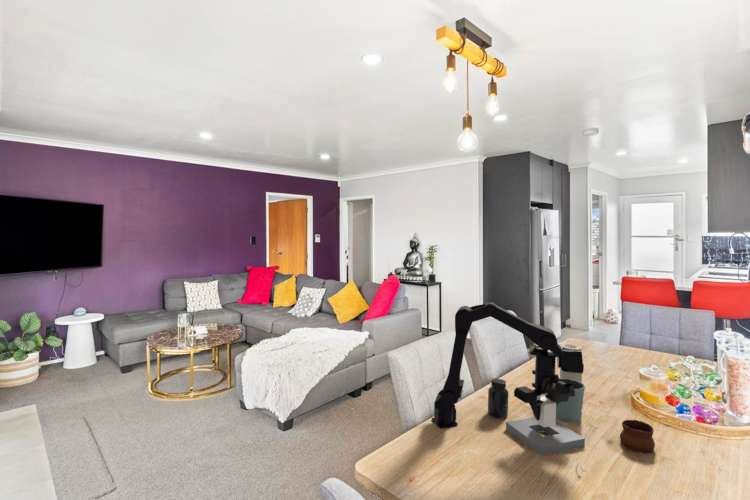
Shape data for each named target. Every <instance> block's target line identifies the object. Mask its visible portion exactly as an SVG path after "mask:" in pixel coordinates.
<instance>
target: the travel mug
mask: <svg viewBox="0 0 750 500" xmlns="http://www.w3.org/2000/svg"><path fill="white" fill-rule="evenodd" d="M561 348H562V349H566V350H581V351H582V350H583V347H582V346H580V345H578V344H573V343H563V344H562V345H561ZM559 369H560V370H559V378H567V379H573V380H576V381H579V382H581V383H583V373H582V374H581V373H571V372H562V371H561V368H559Z"/></svg>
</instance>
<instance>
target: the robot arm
mask: <svg viewBox="0 0 750 500" xmlns="http://www.w3.org/2000/svg"><path fill="white" fill-rule="evenodd" d="M488 317H489V318H490V317H491V318H493V319H494V320H497V321H498V322H500V323H502V324H504V325H506V326H507V327H509V328H511V329H513V330H515V331H517V332H519V333H521V334H523V335H524V336H525V337H527V338H528V339H529V340H530V341H531V342H533V344H535V345H533V347H532V348H531V349H529V355H531V356H535V365H534V367H535V369H533V370H532V374H533V375H534V382H531V387H533V388H534V389H531V388H530V387H527V386H525V385H524V386H518V387H515V388H514V390H513V396H514V397H515V398H517V399H518V400H520V401H522V402H524V403H525V404H529V406H530V409H531V411H532V414H533V413H534V416H535V418H536V419H537V420H539V419H540V406H541V404H542V403H543V401H541V400H540V397H542V396H544V397H546V398H548V399H550V400H552V401H553V402H555V403H556V407H557V405H558V403H560V402H567V401H568V399H569V397H572V396H575V390H574V385H573V384H572V383H564V382H562V381H561V382H559V378H560V376H559V374H558V373H556V366H557V368H558V369H560V368H561V371H562V372H571V373H581V374H582V375H583V373H584V370H585V369H584V366H585V364H584V362H583V361H584V360H583V352H582V349H581V350H566V349H562V345H560V344H558V338H557V336H556V334H555V332H554V330H552V329H551V328H549V327H546V326H543V325H540V324H536V323H533V322H530V321H527V320H525V319H524V318H521V317H519V315H516V314H514V313H513V312H510V311H508V310H506V309H504V308H502V307H500V306H499V305H497V304H496V303H494V302H492V301H489V302H486V303H481V304H476V305H472V306H468V305H463V306H462V305H461V306H460V307H459V308H458V309H457V311H456V313H455V315H454V331H455V336H454V341H453V347H452V353H451V358H450V363H449V370H448V375H447V377H446V380H445V382H444V384H443V388H441V390H440V391H438V392H437V394H436V395H437V396H436V398H435V401H434V402H433V403H434V407H433V409H434V410H433V415H434V417H432V418H431V421H432V422H434V423H435V424H436V426H437V427H439V428H440V429H443V428H450V427H457V426H458V423H457V422H456V421H457V409H456V404H457V403H458V402H459V399H462V395H463V391H464V390H463V388H464V385H465V380H464V379H461V371H462V365H463V359H464V356H465V349H466V343H467V338H468V334H469V332H470V330H471V328H472V324H473V323H474V322H475V323H476V322H478V321H480V320H483V319H486V318H488ZM537 346H538V347H537ZM556 363H557V364H556Z"/></svg>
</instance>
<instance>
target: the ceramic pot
mask: <svg viewBox="0 0 750 500" xmlns="http://www.w3.org/2000/svg"><path fill="white" fill-rule="evenodd" d="M621 426H622V431H620V434H619V438H620V444H621V446H622V447H624V448H625V449H627V450H629V451H631V452H634V453H639V454H650V453H652V452H653V451H654V450H655V447H656V443H655V440H654V438H653V435H654V427H653V426H652V425H650V424H649V423H647V422H645V421H643V420H637V419H625V420H622V422H621ZM630 459H631V458H630ZM637 461H638V462H644V463H645V460H638V459H637Z"/></svg>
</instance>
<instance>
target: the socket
mask: <svg viewBox="0 0 750 500" xmlns="http://www.w3.org/2000/svg"><path fill="white" fill-rule="evenodd" d="M505 430H506V431H507V432H509V433H510V434H511V435H513V436H514V437H516V438H517V439H518V440H519V441H521V443H523V444H525V446H527V447H528V448H530V449H531V450H532V451H534V452H535V453H536V454H538V455H539V456H545V455H546V456H547V455H551V454H552V455H553V454H556V453H561V452H565V451H570V450H576V449H581V448H584V447H585V446H586V445H585V444H586V442H585V441H586V440H585V439H586V438H585V437H583V436H581V435H580V434H578V433H576V432H575V431H573V430H571V429H570V428H569V427H566V426H565V425H563V424H562V423H559V422H558V421H557V420H556V425H555V426H549V427H542V426H541V425H539V424H538V423H536V422H535V421H533V416H531V417H528V418H527V417H526V418H522V419H515V420H514V419H513V420H509V421H505ZM541 432H545V433H546V434H548V435H545V436H543V435H542V434H541Z"/></svg>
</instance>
